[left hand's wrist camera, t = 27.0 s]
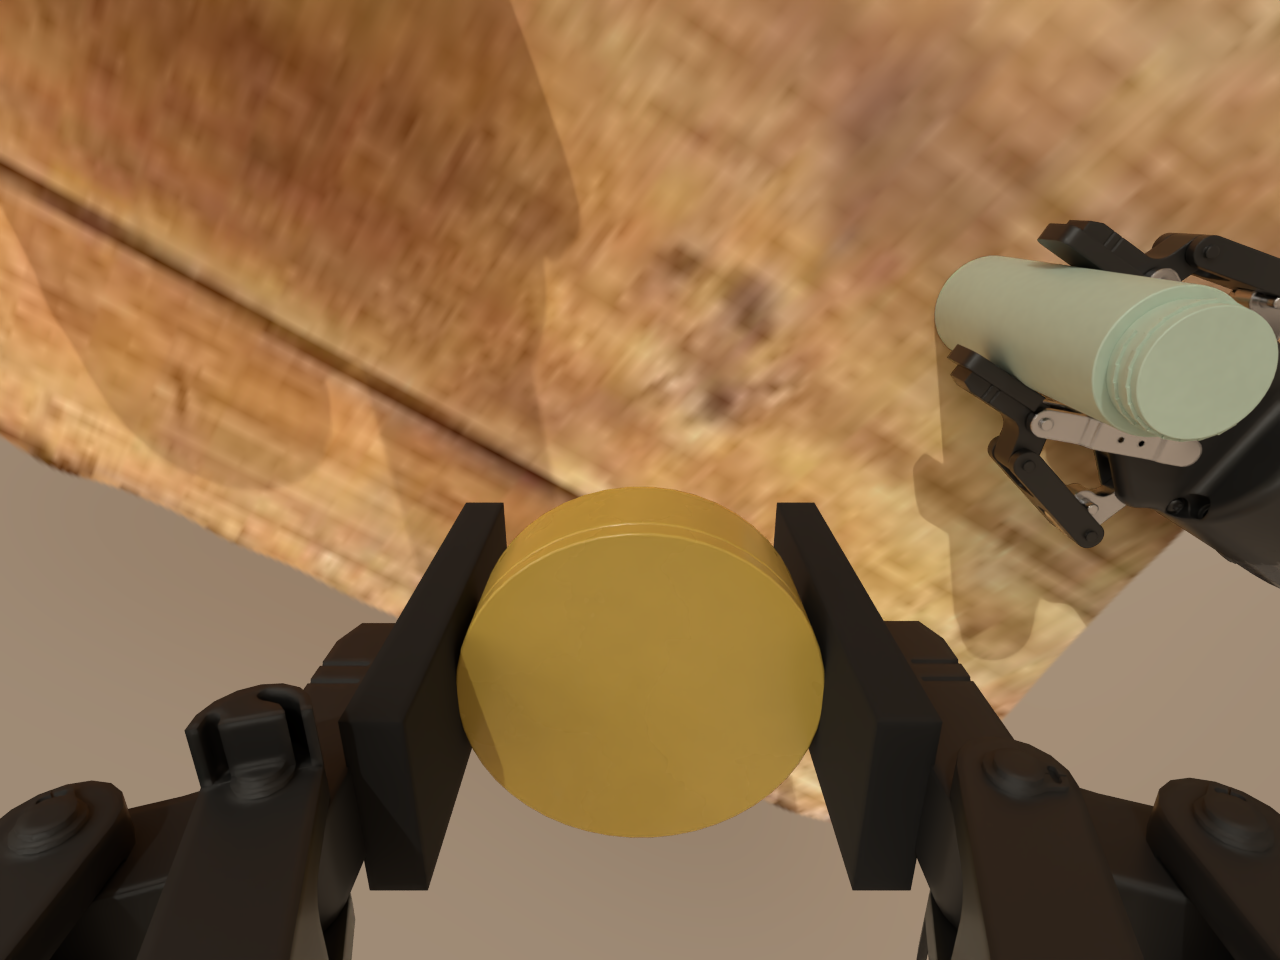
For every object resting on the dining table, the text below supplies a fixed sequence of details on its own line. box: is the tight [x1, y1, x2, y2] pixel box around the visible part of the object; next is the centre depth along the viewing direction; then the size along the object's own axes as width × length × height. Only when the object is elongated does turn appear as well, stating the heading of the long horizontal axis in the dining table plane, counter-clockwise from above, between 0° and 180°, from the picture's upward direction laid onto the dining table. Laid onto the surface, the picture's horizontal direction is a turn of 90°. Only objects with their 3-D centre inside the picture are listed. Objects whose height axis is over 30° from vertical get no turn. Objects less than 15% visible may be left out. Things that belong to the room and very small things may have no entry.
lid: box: [456, 487, 825, 838], centre depth 12 cm, size 6×6×2 cm
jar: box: [935, 256, 1278, 442], centre depth 28 cm, size 5×5×15 cm
